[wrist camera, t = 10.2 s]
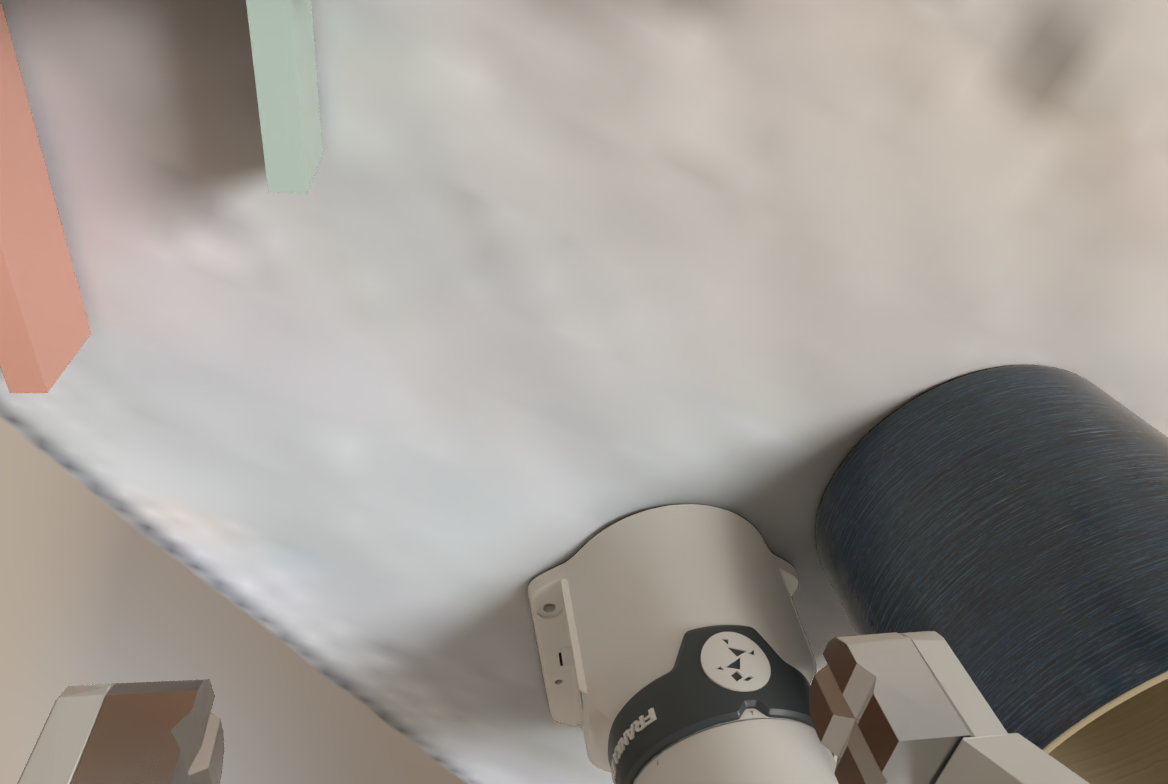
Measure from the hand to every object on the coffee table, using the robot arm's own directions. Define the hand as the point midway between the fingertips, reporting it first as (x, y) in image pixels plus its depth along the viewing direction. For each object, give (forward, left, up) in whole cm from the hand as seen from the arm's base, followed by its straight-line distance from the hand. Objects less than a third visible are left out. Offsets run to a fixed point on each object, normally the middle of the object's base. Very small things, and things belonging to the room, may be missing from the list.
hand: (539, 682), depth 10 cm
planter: (-23, -34, -29) cm, 51 cm away
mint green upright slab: (+5, +7, -28) cm, 30 cm away
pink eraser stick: (-4, +18, -28) cm, 34 cm away
